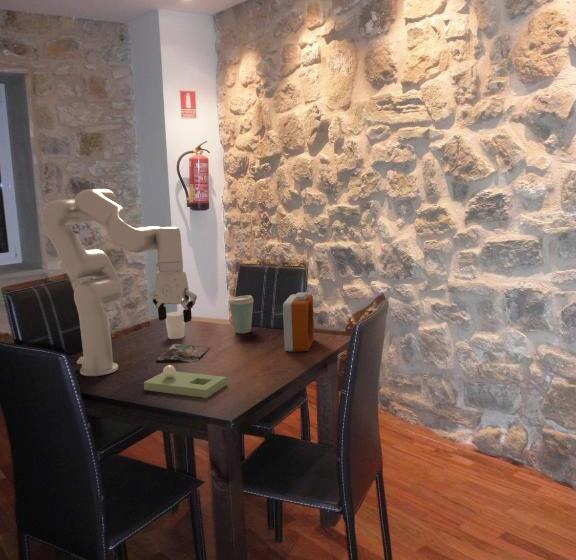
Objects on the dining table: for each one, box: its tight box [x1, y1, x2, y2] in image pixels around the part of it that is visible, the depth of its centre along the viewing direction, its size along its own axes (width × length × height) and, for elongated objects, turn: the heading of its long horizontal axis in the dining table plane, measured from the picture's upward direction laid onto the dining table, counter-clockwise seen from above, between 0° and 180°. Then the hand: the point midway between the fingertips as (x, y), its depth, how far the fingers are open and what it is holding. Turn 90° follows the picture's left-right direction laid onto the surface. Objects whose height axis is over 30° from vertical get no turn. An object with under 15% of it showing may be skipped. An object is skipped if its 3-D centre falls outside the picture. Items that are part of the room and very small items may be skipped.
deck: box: [143, 370, 228, 399], centre depth 182 cm, size 22×12×2 cm, turn 66°
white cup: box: [165, 311, 186, 340], centre depth 243 cm, size 8×8×10 cm
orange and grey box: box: [282, 292, 315, 353], centre depth 221 cm, size 18×9×21 cm, turn 170°
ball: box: [162, 364, 177, 378], centre depth 183 cm, size 4×4×4 cm
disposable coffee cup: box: [228, 295, 255, 334], centre depth 247 cm, size 11×11×15 cm
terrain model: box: [155, 343, 211, 364], centre depth 218 cm, size 20×15×3 cm
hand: (175, 320), depth 185 cm, fingers open, 9 cm apart
